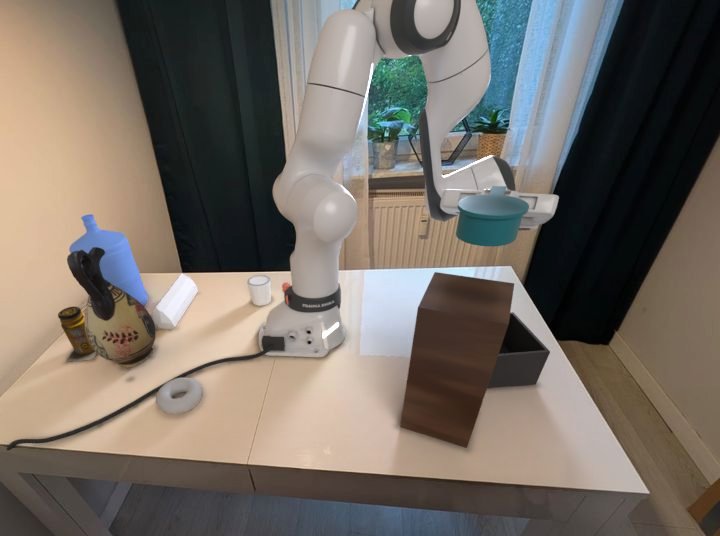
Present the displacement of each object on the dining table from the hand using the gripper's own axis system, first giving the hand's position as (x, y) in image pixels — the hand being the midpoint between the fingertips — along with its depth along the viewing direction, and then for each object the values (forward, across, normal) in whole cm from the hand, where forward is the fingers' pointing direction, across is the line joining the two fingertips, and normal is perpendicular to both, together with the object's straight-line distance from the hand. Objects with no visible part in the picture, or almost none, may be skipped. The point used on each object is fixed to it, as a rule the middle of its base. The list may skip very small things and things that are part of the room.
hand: (497, 194), depth 68 cm
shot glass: (-19, -56, +30) cm, 66 cm away
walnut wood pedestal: (+3, 0, +42) cm, 42 cm away
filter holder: (+4, 0, +6) cm, 7 cm away
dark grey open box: (-13, +6, +33) cm, 36 cm away
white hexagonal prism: (-7, -78, +36) cm, 87 cm away
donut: (+18, -51, +51) cm, 74 cm away
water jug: (-4, -97, +38) cm, 104 cm away
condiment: (+15, -88, +49) cm, 102 cm away
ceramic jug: (+13, -74, +47) cm, 88 cm away
